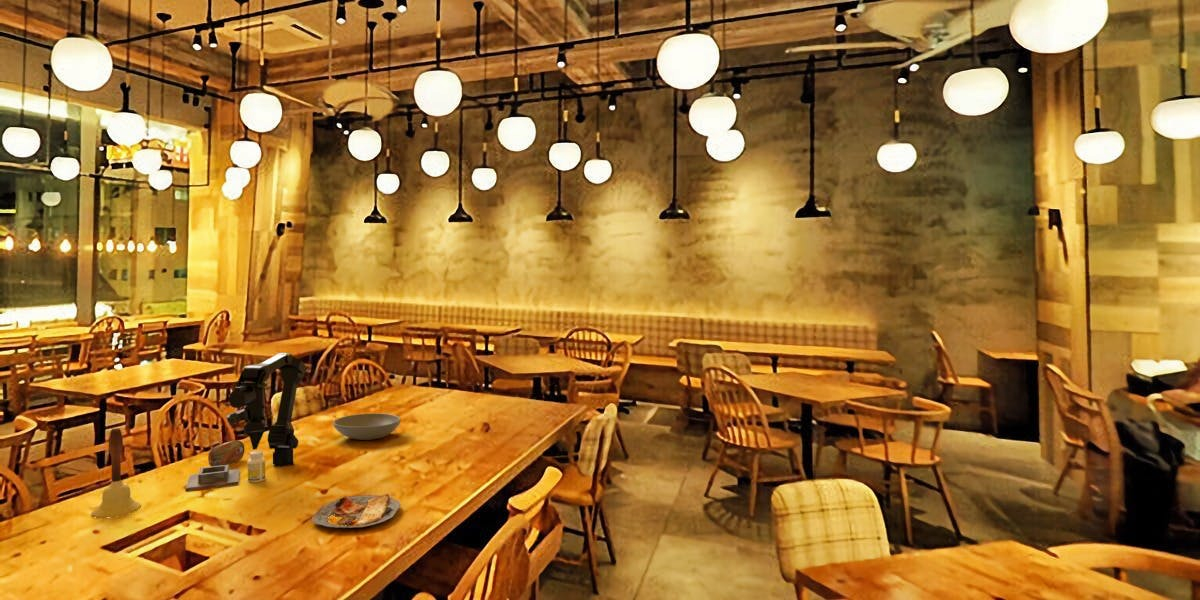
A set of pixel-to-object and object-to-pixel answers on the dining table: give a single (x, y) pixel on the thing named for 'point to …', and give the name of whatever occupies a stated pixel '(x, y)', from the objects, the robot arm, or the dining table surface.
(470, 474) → the dining table surface
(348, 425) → the bowl
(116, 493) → the handbell
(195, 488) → the collar socket board
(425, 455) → the dining table surface
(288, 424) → the robot arm
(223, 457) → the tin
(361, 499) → the food plate
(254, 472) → the supplement bottle
